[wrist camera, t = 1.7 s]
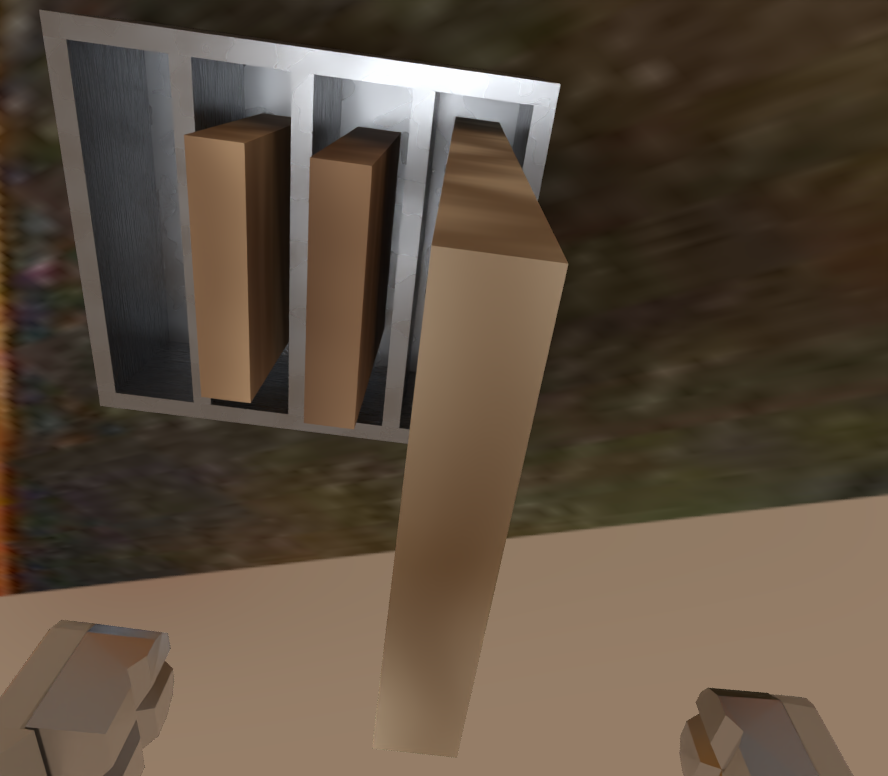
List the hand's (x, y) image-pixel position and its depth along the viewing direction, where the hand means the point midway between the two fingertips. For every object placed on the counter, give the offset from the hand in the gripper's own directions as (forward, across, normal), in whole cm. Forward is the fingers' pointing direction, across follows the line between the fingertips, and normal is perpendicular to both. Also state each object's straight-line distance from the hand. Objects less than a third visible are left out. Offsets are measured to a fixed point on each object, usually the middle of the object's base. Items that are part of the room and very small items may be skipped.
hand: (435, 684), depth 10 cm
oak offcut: (+25, +8, 0) cm, 26 cm away
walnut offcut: (+25, +4, 0) cm, 25 cm away
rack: (+26, +6, 0) cm, 27 cm away
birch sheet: (+25, 0, 0) cm, 25 cm away
